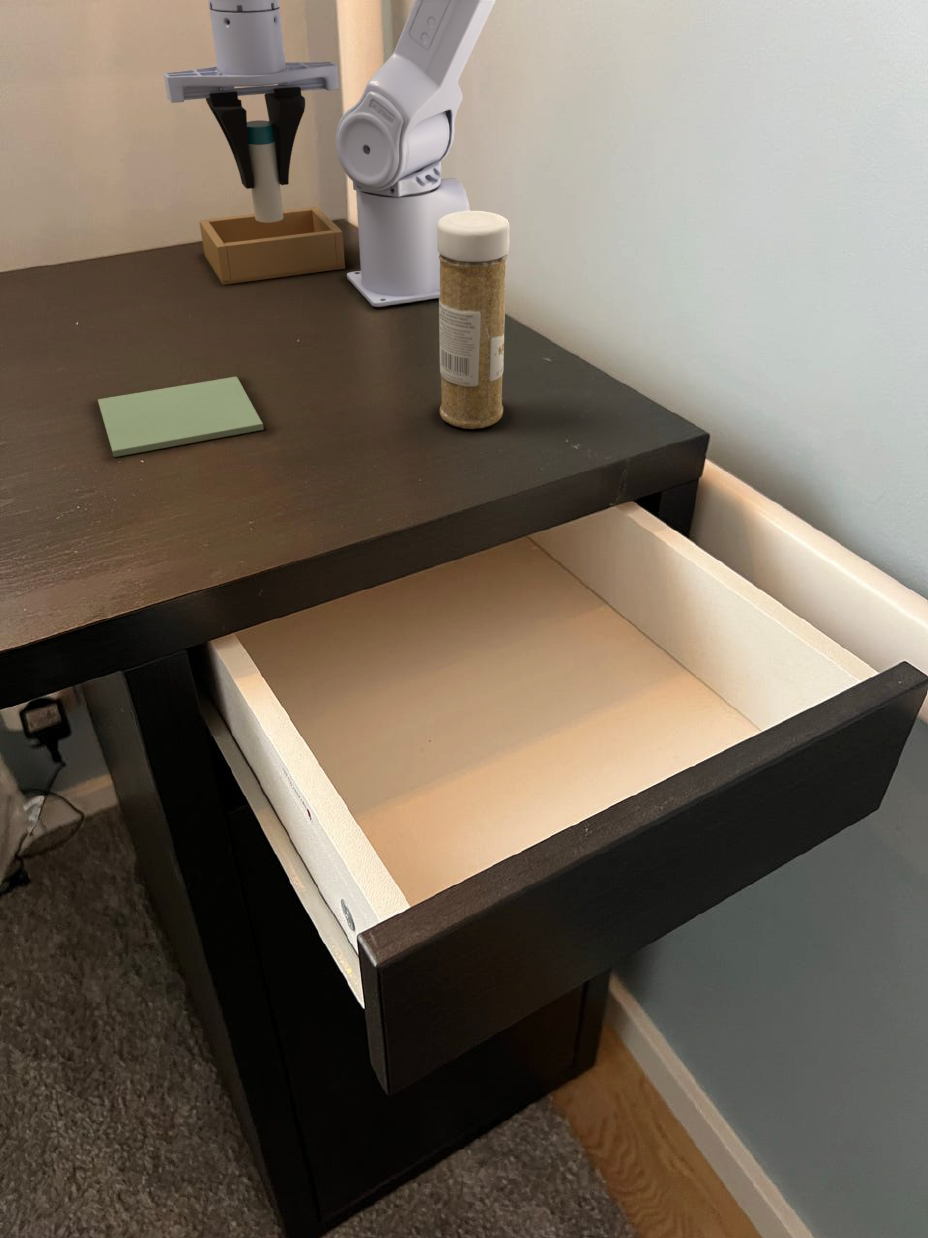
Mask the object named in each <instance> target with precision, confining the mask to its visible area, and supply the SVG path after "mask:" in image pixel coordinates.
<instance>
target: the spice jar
mask: <svg viewBox="0 0 928 1238" xmlns="http://www.w3.org/2000/svg"><path fill="white" fill-rule="evenodd" d="M510 235H511V225H510V222H509V220H508V219H507V218H506V217H505V216H503V215H500V214H498V213H495V212H490V211H483V210H470V211H461V212H455V213H451V214H447V215H445V216H443V217H442V218H440V220H439V221H438V223H437V251H438V252H439V253H440V255H439V259H440V297H439V298H438V315H439V316H438V319H439V320H438V323H439V324H438V325H439V326H438V327H439V333H438V334H439V335H438V337H439V340H438V341H439V373H440V383H441V384H440V389H441V391H440V396H441V399H440V400H441V404H440V407H439V415H440V417H441V419H442V420H443V421H444V423H448V425H451V426H452V427H456V428H461V429H465V430H466V429H467V430H476V429H484V428H487V427H491V426H492V425H495V424H496V423H498V422H499V421H500V420H501V419H502V417H503V414H504V405H503V397H502V396H503V375H504V374H503V373H504V368H505V367H504V362H505V361H504V360H505V359H504V357H505V319H506V318H505V317H506V309H505V308H506V307H505V294H506V293H505V291H506V290H505V287H506V262H507V257H508V253H509V252H510V245H511V244H510V242H511V241H510V240H511V236H510Z"/></svg>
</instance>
